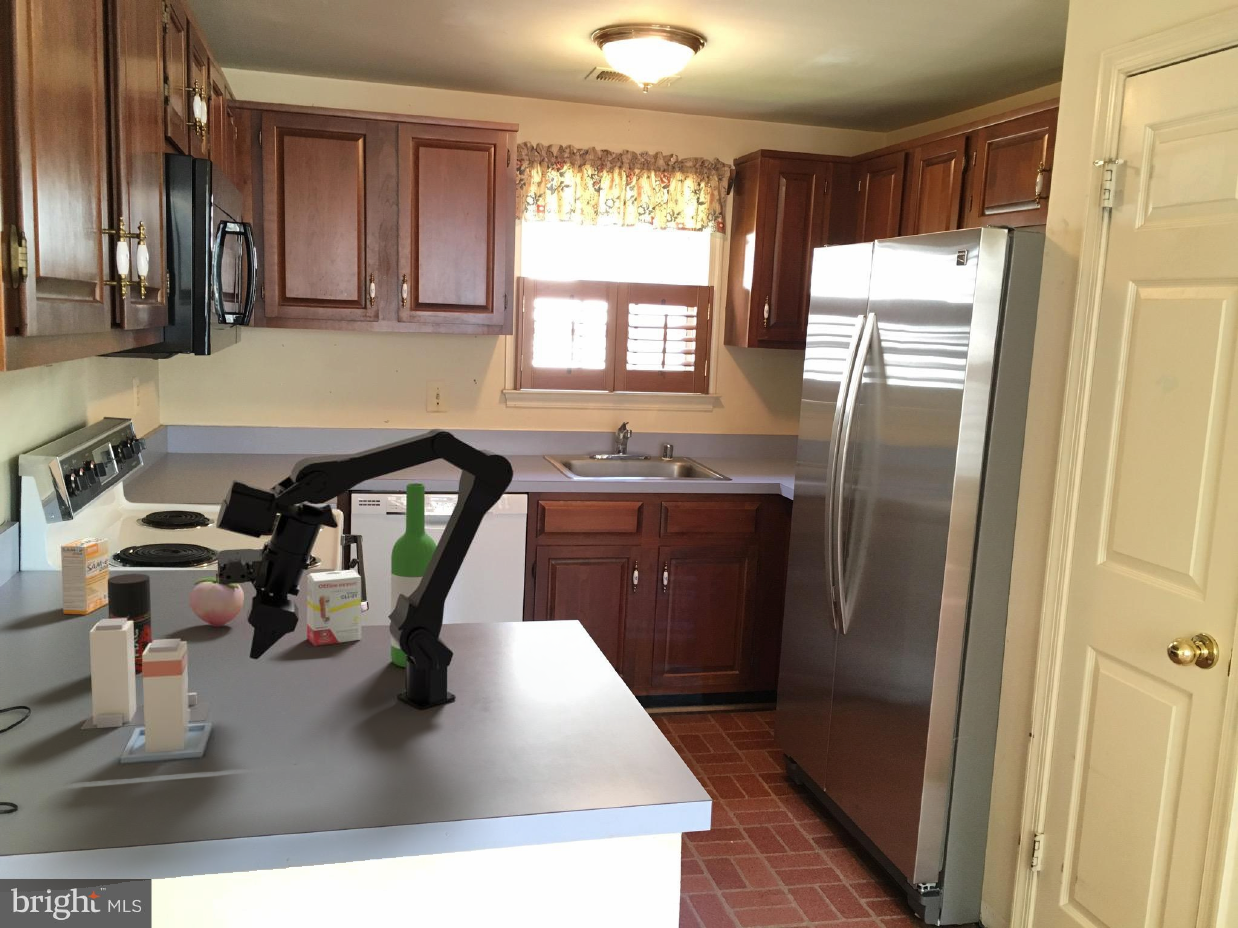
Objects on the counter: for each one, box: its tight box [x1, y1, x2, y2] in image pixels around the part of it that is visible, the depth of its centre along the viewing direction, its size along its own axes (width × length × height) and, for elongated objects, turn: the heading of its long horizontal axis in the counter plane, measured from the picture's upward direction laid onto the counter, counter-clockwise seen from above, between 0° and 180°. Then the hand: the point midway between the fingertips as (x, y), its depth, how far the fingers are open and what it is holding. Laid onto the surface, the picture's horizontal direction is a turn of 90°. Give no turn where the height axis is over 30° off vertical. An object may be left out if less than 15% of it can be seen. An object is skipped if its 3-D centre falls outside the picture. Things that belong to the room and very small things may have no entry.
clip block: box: [80, 692, 212, 730], centre depth 136 cm, size 16×7×2 cm, turn 106°
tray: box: [120, 722, 213, 765], centre depth 127 cm, size 9×9×1 cm
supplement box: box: [60, 537, 110, 616], centre depth 185 cm, size 8×5×13 cm, turn 179°
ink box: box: [306, 569, 362, 647], centre depth 172 cm, size 9×5×12 cm, turn 120°
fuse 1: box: [89, 618, 137, 725], centre depth 134 cm, size 4×4×14 cm
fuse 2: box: [141, 638, 190, 753], centre depth 126 cm, size 5×5×14 cm
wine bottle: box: [390, 482, 437, 668], centre depth 161 cm, size 8×8×30 cm
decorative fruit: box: [189, 572, 245, 628], centre depth 177 cm, size 9×8×10 cm
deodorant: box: [107, 573, 153, 675], centre depth 153 cm, size 6×6×15 cm
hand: (254, 642), depth 138 cm, fingers open, 9 cm apart
